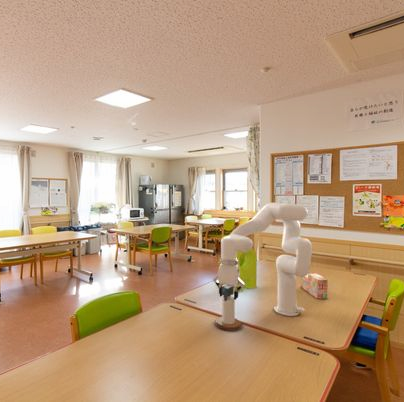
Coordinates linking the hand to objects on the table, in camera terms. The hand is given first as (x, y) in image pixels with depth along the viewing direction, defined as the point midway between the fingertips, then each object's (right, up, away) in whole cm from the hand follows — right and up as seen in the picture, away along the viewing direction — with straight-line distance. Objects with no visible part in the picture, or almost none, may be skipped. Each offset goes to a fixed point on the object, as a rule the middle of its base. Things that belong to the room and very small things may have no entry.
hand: (228, 297), depth 145 cm
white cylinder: (0, -14, +1) cm, 14 cm away
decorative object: (+23, -12, +55) cm, 61 cm away
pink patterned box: (+67, -12, +45) cm, 82 cm away
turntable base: (0, -14, +1) cm, 14 cm away
